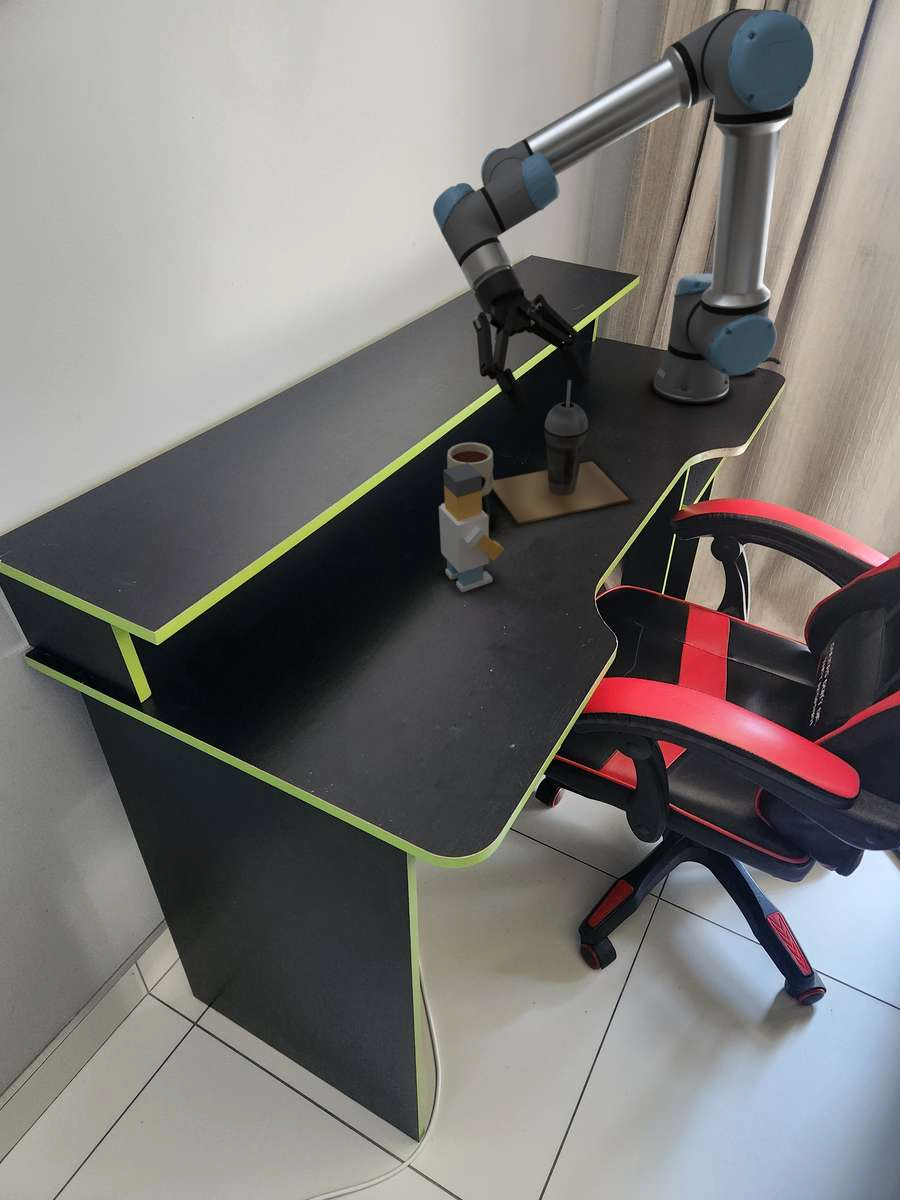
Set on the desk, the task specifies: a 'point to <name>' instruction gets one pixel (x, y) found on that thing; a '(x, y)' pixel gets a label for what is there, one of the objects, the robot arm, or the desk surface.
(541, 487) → the cork mat
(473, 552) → the character figure
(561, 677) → the desk surface
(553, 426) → the beverage cup
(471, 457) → the character mug
